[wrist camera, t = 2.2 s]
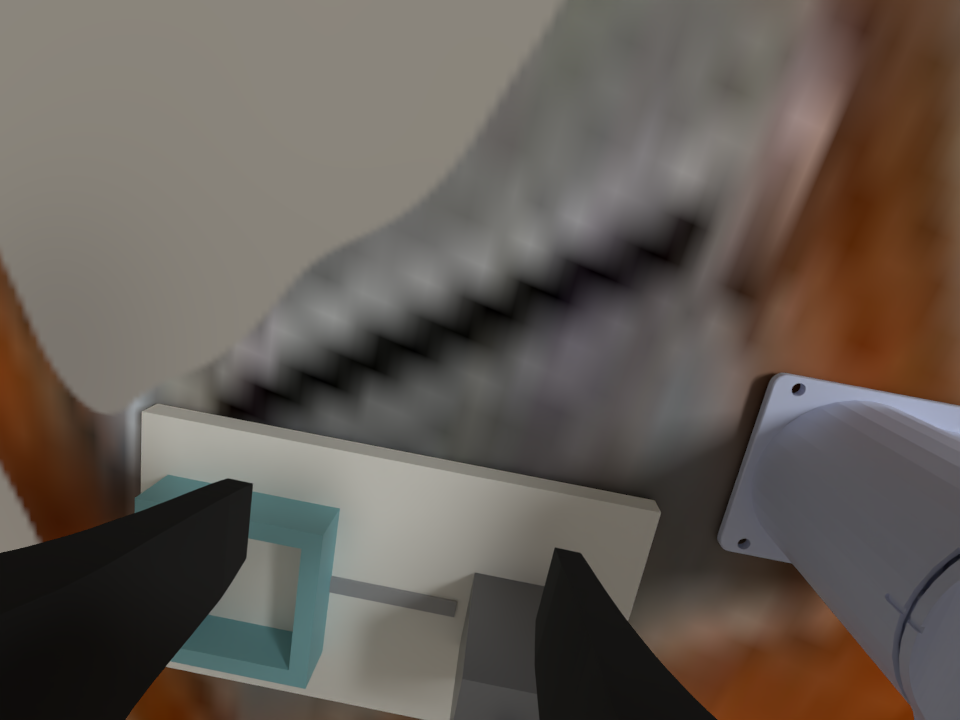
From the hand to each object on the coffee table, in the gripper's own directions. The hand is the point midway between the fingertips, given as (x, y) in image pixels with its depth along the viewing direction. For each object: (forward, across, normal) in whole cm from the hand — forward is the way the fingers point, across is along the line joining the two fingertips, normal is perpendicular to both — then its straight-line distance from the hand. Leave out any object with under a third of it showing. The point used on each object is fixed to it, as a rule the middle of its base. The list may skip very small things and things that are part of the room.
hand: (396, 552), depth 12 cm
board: (+10, +2, +9) cm, 14 cm away
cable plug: (+9, -4, +9) cm, 13 cm away
